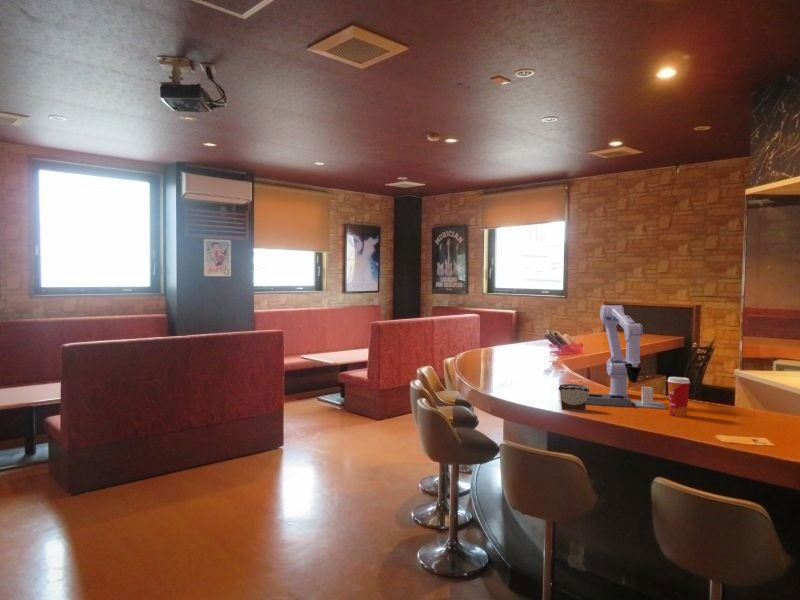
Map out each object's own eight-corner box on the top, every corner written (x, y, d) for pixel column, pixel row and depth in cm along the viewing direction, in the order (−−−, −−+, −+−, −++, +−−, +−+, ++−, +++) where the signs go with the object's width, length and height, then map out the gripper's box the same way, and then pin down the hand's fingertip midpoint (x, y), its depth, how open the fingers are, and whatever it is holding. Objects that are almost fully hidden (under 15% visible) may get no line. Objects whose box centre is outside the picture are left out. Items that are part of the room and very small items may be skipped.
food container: (588, 408, 228) (588, 384, 228) (589, 411, 223) (589, 387, 222) (557, 406, 232) (558, 383, 232) (558, 409, 226) (558, 385, 226)
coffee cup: (667, 412, 222) (668, 375, 222) (690, 414, 218) (690, 377, 218) (665, 416, 215) (666, 378, 215) (689, 419, 211) (689, 380, 211)
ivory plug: (641, 402, 238) (641, 386, 238) (651, 403, 237) (651, 387, 237) (642, 404, 234) (643, 388, 234) (652, 405, 233) (653, 388, 233)
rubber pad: (631, 401, 242) (631, 400, 242) (660, 403, 239) (660, 401, 239) (635, 407, 231) (635, 405, 231) (666, 409, 228) (666, 407, 228)
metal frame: (580, 399, 246) (580, 392, 246) (627, 402, 241) (627, 395, 241) (581, 403, 237) (581, 397, 237) (630, 406, 231) (631, 399, 231)
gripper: (621, 348, 249) (620, 377, 249) (625, 352, 235) (625, 383, 235) (637, 349, 247) (637, 378, 247) (643, 352, 233) (642, 384, 233)
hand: (632, 381), depth 241 cm, fingers open, 7 cm apart
